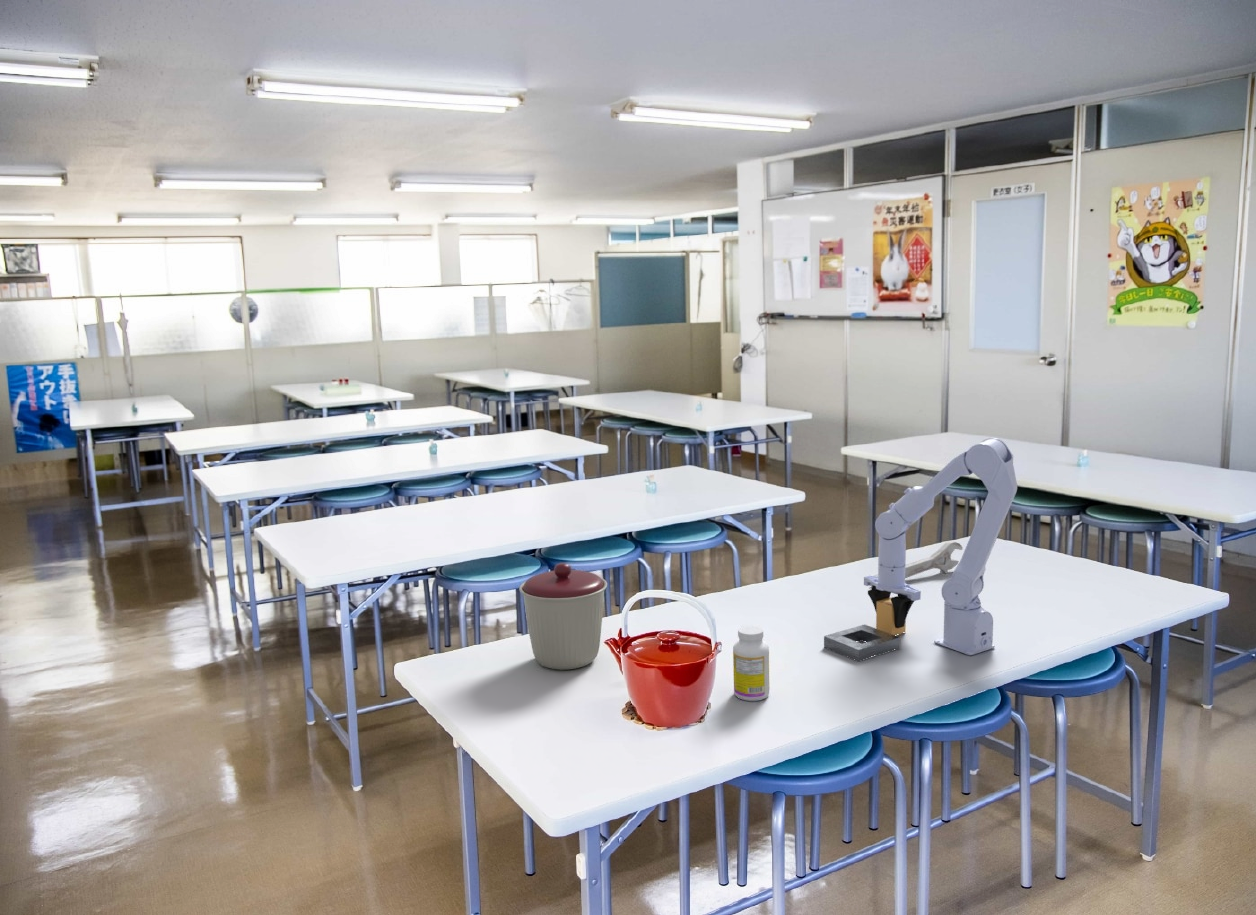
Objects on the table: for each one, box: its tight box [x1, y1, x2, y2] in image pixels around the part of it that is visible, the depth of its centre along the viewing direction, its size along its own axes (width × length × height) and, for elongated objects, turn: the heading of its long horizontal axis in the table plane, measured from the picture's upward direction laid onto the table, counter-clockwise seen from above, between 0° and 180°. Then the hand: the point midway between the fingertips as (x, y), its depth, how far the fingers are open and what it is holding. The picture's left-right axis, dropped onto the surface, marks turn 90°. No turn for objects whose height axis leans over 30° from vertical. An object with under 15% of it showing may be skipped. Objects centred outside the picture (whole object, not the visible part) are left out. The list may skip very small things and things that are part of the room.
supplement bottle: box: [732, 625, 770, 702], centre depth 179 cm, size 7×7×13 cm
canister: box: [518, 562, 608, 671], centre depth 198 cm, size 18×18×21 cm
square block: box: [875, 596, 907, 636], centre depth 210 cm, size 4×4×7 cm
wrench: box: [873, 540, 963, 579], centre depth 249 cm, size 8×2×30 cm
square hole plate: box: [823, 624, 901, 662], centre depth 201 cm, size 10×12×2 cm
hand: (890, 623), depth 210 cm, fingers closed on square block, 4 cm apart
